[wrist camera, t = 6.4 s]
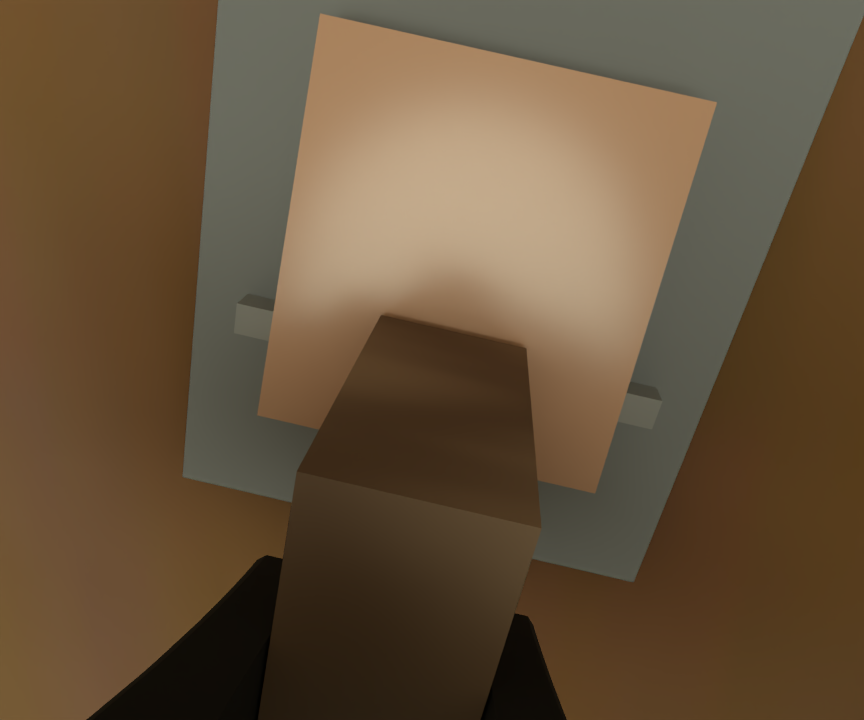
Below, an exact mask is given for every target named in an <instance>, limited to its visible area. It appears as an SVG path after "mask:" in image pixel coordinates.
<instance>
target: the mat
mask: <svg viewBox="0 0 864 720" xmlns="http://www.w3.org/2000/svg"><path fill="white" fill-rule="evenodd" d="M320 13H321V14H325V15H330V16H334V17H339V18H343V19H347V20H352V21H356V22H361V23H365V24H370V25H374V26H379V27H383V28H388V29H392V30H397V31H401V32H405V33H410V34H414V35H419V36H423V37H428V38H432V39H437V40H441V41H446V42H450V43H455V44H459V45H463V46H468V47H472V48H477V49H481V50H486V51H490V52H495V53H499V54H504V55H508V56H513V57H517V58H521V59H526V60H530V61H535V62H539V63H544V64H548V65H553V66H557V67H562V68H566V69H571V70H575V71H579V72H584V73H588V74H593V75H597V76H602V77H606V78H611V79H615V80H620V81H624V82H629V83H633V84H637V85H642V86H646V87H651V88H655V89H660V90H664V91H669V92H673V93H678V94H682V95H687V96H691V97H695V98H700V99H704V100H709V101H713V102H717V104H716V108H715V111H714V114H713V117H712V120H711V124H710V127H709V130H708V133H707V136H706V140H705V143H704V146H703V149H702V153H701V156H700V159H699V162H698V165H697V169H696V172H695V175H694V178H693V181H692V185H691V188H690V191H689V194H688V197H687V201H686V204H685V207H684V210H683V213H682V217H681V220H680V223H679V226H678V229H677V233H676V236H675V239H674V242H673V245H672V249H671V252H670V255H669V258H668V261H667V265H666V268H665V271H664V274H663V278H662V281H661V284H660V287H659V290H658V294H657V297H656V300H655V303H654V306H653V310H652V313H651V316H650V319H649V322H648V326H647V329H646V332H645V335H644V338H643V342H642V345H641V348H640V351H639V354H638V358H637V361H636V364H635V367H634V370H633V374H632V377H631V380H630V383H629V387H628V390H627V393H626V396H625V399H624V403H623V406H622V409H621V412H620V415H619V419H618V422H617V425H616V428H615V431H614V435H613V438H612V441H611V444H610V447H609V451H608V454H607V457H606V460H605V463H604V467H603V470H602V473H601V476H600V479H599V483H598V486H597V489H596V492H595V493H590V492H586V491H582V490H577V489H573V488H569V487H564V486H560V485H556V484H552V483H547V482H543V481H539V480H538V492H539V504H540V515H541V527H542V529H541V532H540V535H539V538H538V541H537V544H536V548H535V551H534V554H533V557H532V559H536V560H540V561H544V562H548V563H553V564H557V565H561V566H566V567H570V568H574V569H578V570H583V571H587V572H591V573H595V574H600V575H604V576H608V577H613V578H617V579H621V580H625V581H630V582H634V580H635V577H636V575H637V573H638V570H639V568H640V565H641V563H642V560H643V558H644V555H645V553H646V550H647V548H648V545H649V543H650V541H651V538H652V536H653V533H654V531H655V528H656V526H657V523H658V521H659V518H660V516H661V513H662V511H663V509H664V506H665V504H666V501H667V499H668V496H669V494H670V491H671V489H672V486H673V484H674V481H675V479H676V477H677V474H678V472H679V469H680V467H681V464H682V462H683V459H684V457H685V454H686V452H687V449H688V447H689V444H690V442H691V440H692V437H693V435H694V432H695V430H696V427H697V425H698V422H699V420H700V417H701V415H702V412H703V410H704V408H705V405H706V403H707V400H708V398H709V395H710V393H711V390H712V388H713V385H714V383H715V380H716V378H717V376H718V373H719V371H720V368H721V366H722V363H723V361H724V358H725V356H726V353H727V351H728V348H729V346H730V343H731V341H732V339H733V336H734V334H735V331H736V329H737V326H738V324H739V321H740V319H741V316H742V314H743V311H744V309H745V307H746V304H747V302H748V299H749V297H750V294H751V292H752V289H753V287H754V284H755V282H756V279H757V277H758V275H759V272H760V270H761V267H762V265H763V262H764V260H765V257H766V255H767V252H768V250H769V247H770V245H771V242H772V240H773V238H774V235H775V233H776V230H777V228H778V225H779V223H780V220H781V218H782V215H783V213H784V210H785V208H786V206H787V203H788V201H789V198H790V196H791V193H792V191H793V188H794V186H795V183H796V181H797V178H798V176H799V174H800V171H801V169H802V166H803V164H804V161H805V159H806V156H807V154H808V151H809V149H810V146H811V144H812V142H813V139H814V137H815V134H816V132H817V129H818V127H819V124H820V122H821V119H822V117H823V114H824V112H825V109H826V107H827V105H828V102H829V100H830V97H831V95H832V92H833V90H834V87H835V85H836V82H837V80H838V77H839V75H840V73H841V70H842V68H843V65H844V63H845V60H846V58H847V55H848V53H849V50H850V48H851V45H852V43H853V41H854V38H855V36H856V33H857V31H858V28H859V26H860V23H861V21H862V18H863V16H864V0H218V13H217V26H216V40H215V53H214V66H213V79H212V93H211V106H210V119H209V133H208V146H207V159H206V173H205V186H204V199H203V212H202V226H201V239H200V252H199V266H198V279H197V292H196V305H195V319H194V332H193V345H192V359H191V372H190V385H189V399H188V412H187V425H186V438H185V452H184V465H183V477H185V478H189V479H193V480H198V481H202V482H206V483H210V484H215V485H219V486H223V487H228V488H232V489H236V490H240V491H245V492H249V493H253V494H257V495H262V496H266V497H270V498H275V499H279V500H283V501H287V502H292V498H293V491H294V485H295V479H296V472H297V470H298V468H299V466H300V464H301V462H302V461H303V459H304V457H305V455H306V453H307V451H308V449H309V448H310V446H311V444H312V442H313V440H314V438H315V436H316V435H317V433H318V431H319V429H314V428H310V427H306V426H301V425H297V424H293V423H289V422H284V421H280V420H276V419H271V418H267V417H263V416H258V415H257V413H258V407H259V400H260V394H261V388H262V381H263V375H264V368H265V362H266V356H267V349H268V343H269V336H270V330H271V324H272V317H273V311H274V304H275V298H276V292H277V285H278V279H279V273H280V266H281V260H282V253H283V247H284V241H285V234H286V228H287V221H288V215H289V209H290V202H291V196H292V190H293V183H294V177H295V170H296V164H297V158H298V151H299V145H300V138H301V132H302V126H303V119H304V113H305V106H306V100H307V94H308V87H309V81H310V75H311V68H312V62H313V55H314V49H315V43H316V36H317V30H318V23H319V17H320Z"/></svg>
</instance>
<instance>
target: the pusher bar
mask: <svg viewBox="0 0 864 720" xmlns="http://www.w3.org/2000/svg"><path fill="white" fill-rule="evenodd" d="M541 529H542V527H541V515H540V504H539V492H538V480H537V468H536V456H535V444H534V432H533V420H532V409H531V397H530V385H529V373H528V361H527V349H526V348H523V347H519V346H515V345H510V344H506V343H502V342H497V341H493V340H489V339H484V338H480V337H476V336H471V335H467V334H463V333H458V332H454V331H449V330H445V329H441V328H436V327H432V326H428V325H423V324H419V323H415V322H410V321H406V320H402V319H397V318H393V317H389V316H384V315H381V316H380V318H379V320H378V321H377V323H376V325H375V327H374V329H373V331H372V333H371V334H370V336H369V338H368V340H367V342H366V344H365V346H364V347H363V349H362V351H361V353H360V355H359V357H358V358H357V360H356V362H355V364H354V366H353V368H352V370H351V371H350V373H349V375H348V377H347V379H346V381H345V383H344V384H343V386H342V388H341V390H340V392H339V394H338V396H337V397H336V399H335V401H334V403H333V405H332V407H331V409H330V410H329V412H328V414H327V416H326V418H325V420H324V422H323V423H322V425H321V427H320V429H319V431H318V433H317V435H316V436H315V438H314V440H313V442H312V444H311V446H310V448H309V449H308V451H307V453H306V455H305V457H304V459H303V461H302V462H301V464H300V466H299V468H298V470H297V472H296V479H295V485H294V491H293V498H292V504H291V510H290V517H289V523H288V530H287V536H286V542H285V549H284V555H283V561H282V568H281V574H280V581H279V587H278V593H277V600H276V606H275V612H274V619H273V625H272V632H271V638H270V644H269V651H268V657H267V663H266V670H265V676H264V683H263V689H262V695H261V702H260V708H259V714H258V720H481V717H482V713H483V710H484V707H485V704H486V701H487V698H488V695H489V692H490V688H491V685H492V682H493V679H494V676H495V673H496V670H497V667H498V663H499V660H500V657H501V654H502V651H503V648H504V645H505V641H506V638H507V635H508V632H509V629H510V626H511V623H512V620H513V616H514V613H515V610H516V607H517V604H518V601H519V598H520V595H521V591H522V588H523V585H524V582H525V579H526V576H527V573H528V569H529V566H530V563H531V560H532V557H533V554H534V551H535V548H536V544H537V541H538V538H539V535H540V532H541Z"/></svg>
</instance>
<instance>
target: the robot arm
mask: <svg viewBox="0 0 864 720" xmlns="http://www.w3.org/2000/svg"><path fill="white" fill-rule="evenodd" d="M282 561H283V559H281V558H276V557H272V556H268V555H266V556H264V557H262V558H260V559H258V560H257V561H256V562H255V563H254V564H253V566H252V567H251V568H250V569H249V570H248V571H247V572H246V574H245V575H244V576H243V577H242V578H241V579H240V580H239V581H238V582H237V583H236V584H235V585H234V587H233V588H232V589H231V590H230V591H229V592H228V593H227V594H226V595H225V596H224V597H223V598H222V599H221V600H220V601H219V602H218V603H217V604H216V605H215V606H214V607H213V608H212V609H211V610H210V611H209V612H208V613H207V614H206V615H205V616H204V617H203V618H202V619H201V620H200V621H199V622H198V623H197V624H196V625H195V626H194V627H193V628H191V629H190V630H189V631H188V632H187V633H186V634H185V635H184V636H183V637H182V638H181V639H180V640H178V641H177V642H176V643H175V644H174V645H173V646H172V647H171V648H170V649H169V650H168V651H167V652H165V653H164V654H163V655H162V656H161V657H160V658H159V659H158V660H157V661H156V662H155V663H153V664H152V665H151V666H150V667H149V668H148V669H147V670H146V671H144V672H143V673H142V674H141V675H140V676H139V677H137V678H136V679H135V680H134V681H133V682H131V683H130V684H129V685H128V686H127V687H125V688H124V689H123V690H122V691H121V692H119V693H118V694H117V695H116V696H115V697H113V698H112V699H111V700H110V701H109V702H107V703H106V704H105V705H104V706H103V707H101V708H100V709H99V710H98V711H97V712H95V713H94V714H93V715H92V716H91V717H89V718H88V719H87V720H258V714H259V708H260V702H261V695H262V689H263V683H264V676H265V670H266V663H267V657H268V651H269V644H270V638H271V632H272V625H273V619H274V612H275V606H276V600H277V593H278V587H279V581H280V574H281V568H282ZM481 720H567V719H566V717H565V714H564V712H563V709H562V707H561V704H560V701H559V699H558V696H557V693H556V691H555V688H554V686H553V683H552V680H551V677H550V675H549V672H548V669H547V666H546V663H545V660H544V658H543V655H542V652H541V649H540V645H539V642H538V639H537V636H536V633H535V630H534V626H533V624H532V623H531V621H530V619H529V618H528V616H523V615H519V614H515V613H514V616H513V620H512V623H511V626H510V629H509V632H508V635H507V638H506V641H505V645H504V648H503V651H502V654H501V657H500V660H499V663H498V667H497V670H496V673H495V676H494V679H493V682H492V685H491V688H490V692H489V695H488V698H487V701H486V704H485V707H484V710H483V713H482V717H481Z"/></svg>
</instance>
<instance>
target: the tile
mask: <svg viewBox="0 0 864 720" xmlns="http://www.w3.org/2000/svg"><path fill="white" fill-rule="evenodd" d="M716 104H717V102H713V101H709V100H704V99H700V98H695V97H691V96H687V95H682V94H678V93H673V92H669V91H664V90H660V89H655V88H651V87H646V86H642V85H637V84H633V83H629V82H624V81H620V80H615V79H611V78H606V77H602V76H597V75H593V74H588V73H584V72H579V71H575V70H571V69H566V68H562V67H557V66H553V65H548V64H544V63H539V62H535V61H530V60H526V59H521V58H517V57H513V56H508V55H504V54H499V53H495V52H490V51H486V50H481V49H477V48H472V47H468V46H463V45H459V44H455V43H450V42H446V41H441V40H437V39H432V38H428V37H423V36H419V35H414V34H410V33H405V32H401V31H397V30H392V29H388V28H383V27H379V26H374V25H370V24H365V23H361V22H356V21H352V20H347V19H343V18H339V17H334V16H330V15H325V14H321V13H320V17H319V23H318V30H317V36H316V43H315V49H314V55H313V62H312V68H311V75H310V81H309V87H308V94H307V100H306V106H305V113H304V119H303V126H302V132H301V138H300V145H299V151H298V158H297V164H296V170H295V177H294V183H293V190H292V196H291V202H290V209H289V215H288V221H287V228H286V234H285V241H284V247H283V253H282V260H281V266H280V273H279V279H278V285H277V292H276V298H275V304H274V311H273V317H272V324H271V330H270V336H269V343H268V349H267V356H266V362H265V368H264V375H263V381H262V388H261V394H260V400H259V407H258V413H257V415H258V416H263V417H267V418H271V419H276V420H280V421H284V422H289V423H293V424H297V425H301V426H306V427H310V428H314V429H320V427H321V425H322V423H323V422H324V420H325V418H326V416H327V414H328V412H329V410H330V409H331V407H332V405H333V403H334V401H335V399H336V397H337V396H338V394H339V392H340V390H341V388H342V386H343V384H344V383H345V381H346V379H347V377H348V375H349V373H350V371H351V370H352V368H353V366H354V364H355V362H356V360H357V358H358V357H359V355H360V353H361V351H362V349H363V347H364V346H365V344H366V342H367V340H368V338H369V336H370V334H371V333H372V331H373V329H374V327H375V325H376V323H377V321H378V320H379V318H380V316H381V315H384V316H389V317H393V318H397V319H402V320H406V321H410V322H415V323H419V324H423V325H428V326H432V327H436V328H441V329H445V330H449V331H454V332H458V333H463V334H467V335H471V336H476V337H480V338H484V339H489V340H493V341H497V342H502V343H506V344H510V345H515V346H519V347H523V348H526V349H527V361H528V373H529V385H530V397H531V409H532V420H533V432H534V444H535V456H536V468H537V480H539V481H543V482H547V483H552V484H556V485H560V486H564V487H569V488H573V489H577V490H582V491H586V492H590V493H595V492H596V489H597V486H598V483H599V479H600V476H601V473H602V470H603V467H604V463H605V460H606V457H607V454H608V451H609V447H610V444H611V441H612V438H613V435H614V431H615V428H616V425H617V422H618V419H619V415H620V412H621V409H622V406H623V403H624V399H625V396H626V393H627V390H628V387H629V383H630V380H631V377H632V374H633V370H634V367H635V364H636V361H637V358H638V354H639V351H640V348H641V345H642V342H643V338H644V335H645V332H646V329H647V326H648V322H649V319H650V316H651V313H652V310H653V306H654V303H655V300H656V297H657V294H658V290H659V287H660V284H661V281H662V278H663V274H664V271H665V268H666V265H667V261H668V258H669V255H670V252H671V249H672V245H673V242H674V239H675V236H676V233H677V229H678V226H679V223H680V220H681V217H682V213H683V210H684V207H685V204H686V201H687V197H688V194H689V191H690V188H691V185H692V181H693V178H694V175H695V172H696V169H697V165H698V162H699V159H700V156H701V153H702V149H703V146H704V143H705V140H706V136H707V133H708V130H709V127H710V124H711V120H712V117H713V114H714V111H715V108H716Z"/></svg>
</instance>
